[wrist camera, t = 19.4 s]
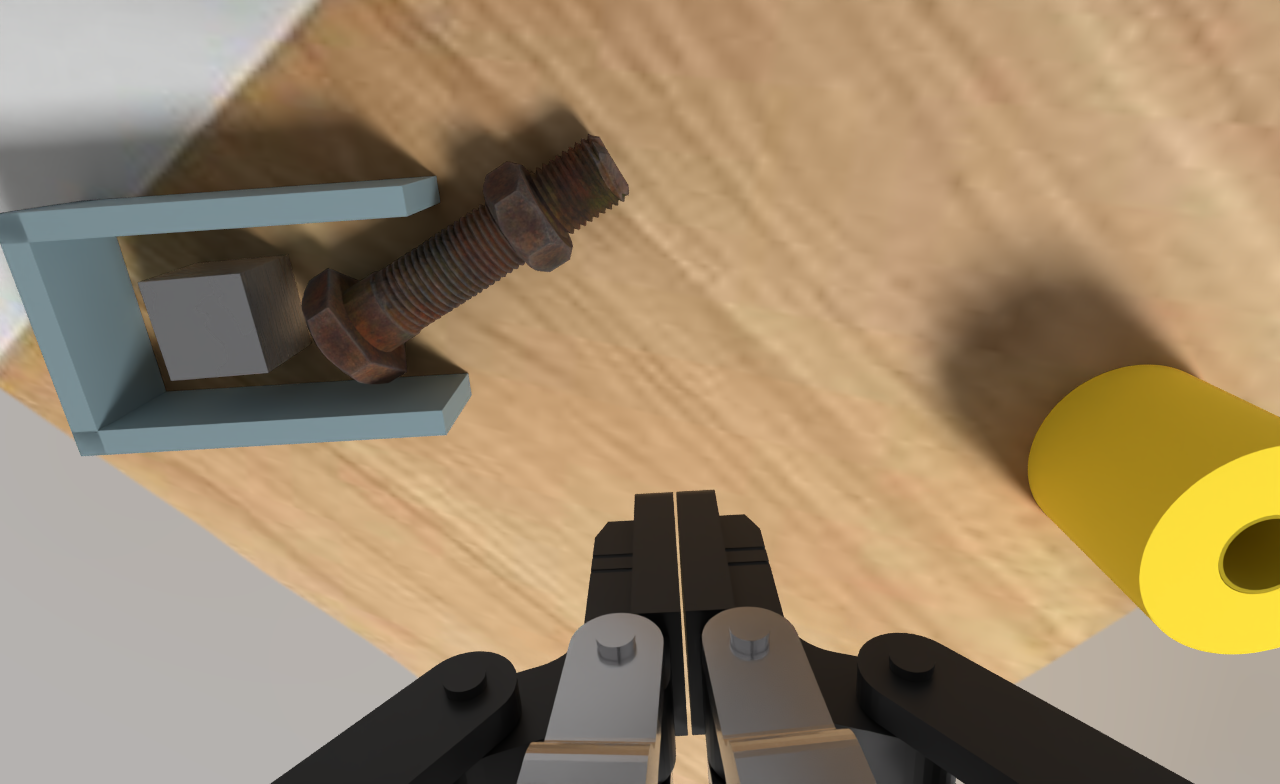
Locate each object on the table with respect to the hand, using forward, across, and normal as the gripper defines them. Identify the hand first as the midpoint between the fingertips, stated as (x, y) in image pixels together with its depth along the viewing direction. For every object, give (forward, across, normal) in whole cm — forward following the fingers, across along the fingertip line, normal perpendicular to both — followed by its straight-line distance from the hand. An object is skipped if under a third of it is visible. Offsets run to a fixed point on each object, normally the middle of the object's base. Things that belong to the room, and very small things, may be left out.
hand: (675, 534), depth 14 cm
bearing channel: (+23, +18, 0) cm, 30 cm away
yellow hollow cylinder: (+23, -24, +11) cm, 35 cm away
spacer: (+23, +20, 0) cm, 31 cm away
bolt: (+24, +8, -2) cm, 25 cm away
